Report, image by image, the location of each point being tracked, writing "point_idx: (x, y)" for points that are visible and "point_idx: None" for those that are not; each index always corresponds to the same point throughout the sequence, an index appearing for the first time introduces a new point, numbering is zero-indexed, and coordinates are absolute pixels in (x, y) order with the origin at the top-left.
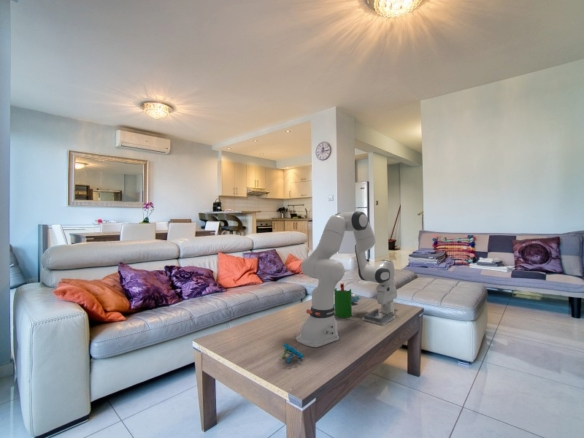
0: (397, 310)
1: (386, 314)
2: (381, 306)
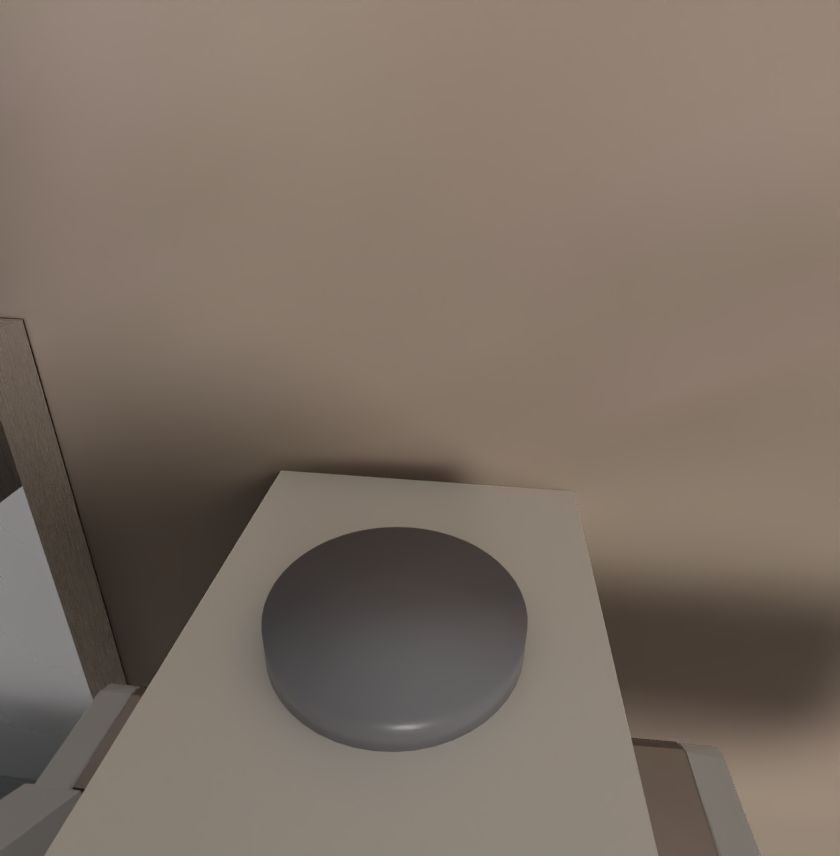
0: (781, 750)
1: (87, 702)
2: (181, 635)
